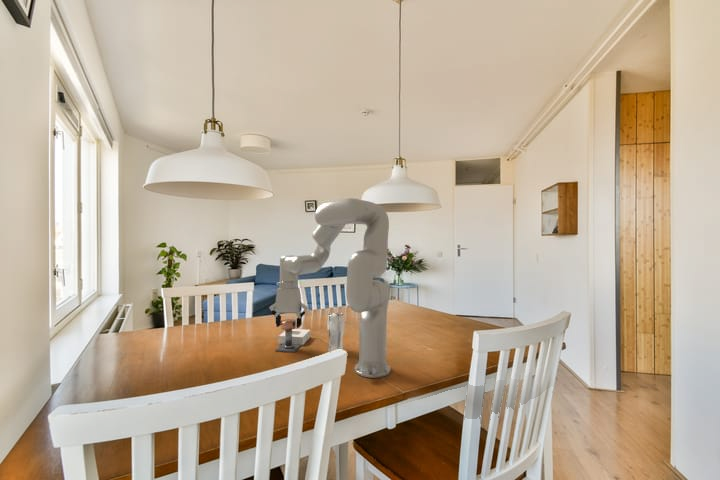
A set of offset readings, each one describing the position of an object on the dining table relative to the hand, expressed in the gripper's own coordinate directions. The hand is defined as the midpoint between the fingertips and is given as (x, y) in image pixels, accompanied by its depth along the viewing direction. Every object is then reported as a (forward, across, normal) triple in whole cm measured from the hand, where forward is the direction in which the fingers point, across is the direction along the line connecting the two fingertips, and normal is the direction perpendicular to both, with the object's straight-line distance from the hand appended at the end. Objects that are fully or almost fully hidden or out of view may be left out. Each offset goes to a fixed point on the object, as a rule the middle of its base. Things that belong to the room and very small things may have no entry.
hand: (288, 326), depth 130 cm
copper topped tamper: (+9, 0, 0) cm, 9 cm away
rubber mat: (+9, 0, 0) cm, 9 cm away
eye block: (+9, -1, +10) cm, 14 cm away
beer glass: (+10, +20, +1) cm, 22 cm away
